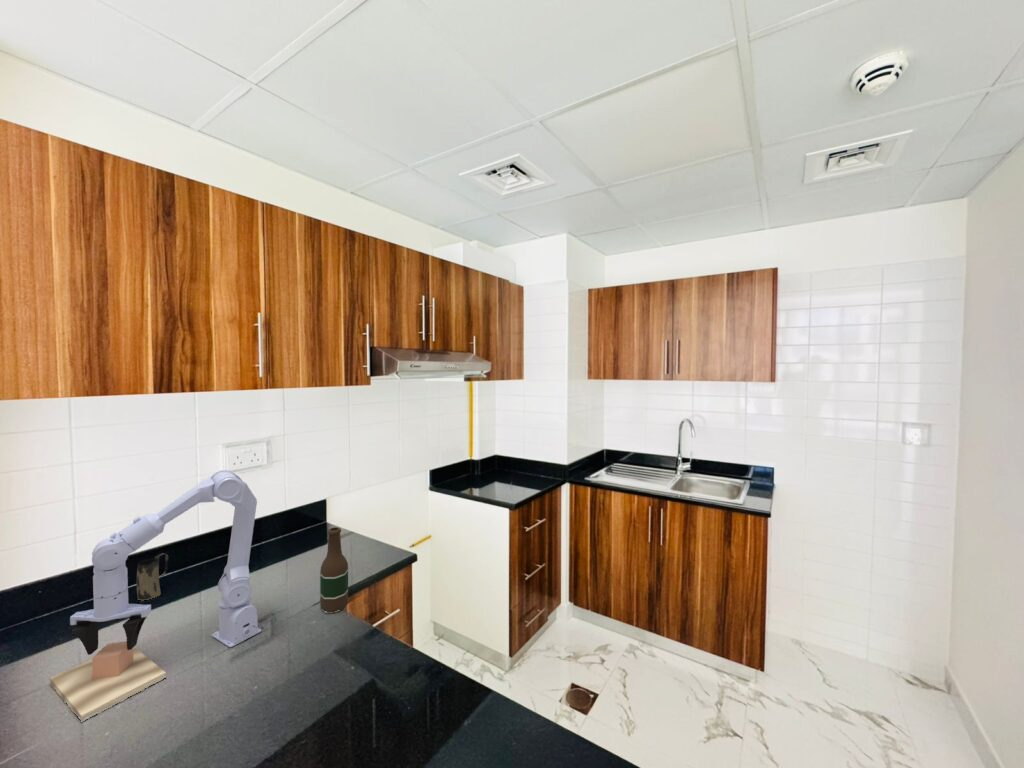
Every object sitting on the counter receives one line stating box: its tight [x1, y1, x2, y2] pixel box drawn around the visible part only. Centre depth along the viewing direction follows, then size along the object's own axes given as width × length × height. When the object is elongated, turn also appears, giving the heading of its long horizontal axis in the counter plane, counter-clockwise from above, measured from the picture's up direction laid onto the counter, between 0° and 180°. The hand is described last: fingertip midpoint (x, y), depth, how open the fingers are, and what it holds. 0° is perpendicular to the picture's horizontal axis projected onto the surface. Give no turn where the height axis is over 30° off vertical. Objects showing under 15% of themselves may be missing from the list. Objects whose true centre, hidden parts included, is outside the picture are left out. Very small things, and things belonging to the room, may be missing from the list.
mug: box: [136, 552, 169, 602], centre depth 131 cm, size 8×6×12 cm
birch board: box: [49, 646, 167, 720], centre depth 95 cm, size 20×14×2 cm
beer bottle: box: [319, 526, 349, 612], centre depth 126 cm, size 8×8×24 cm
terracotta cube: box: [91, 640, 133, 679], centre depth 97 cm, size 5×5×5 cm
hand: (112, 649), depth 97 cm, fingers open, 7 cm apart
